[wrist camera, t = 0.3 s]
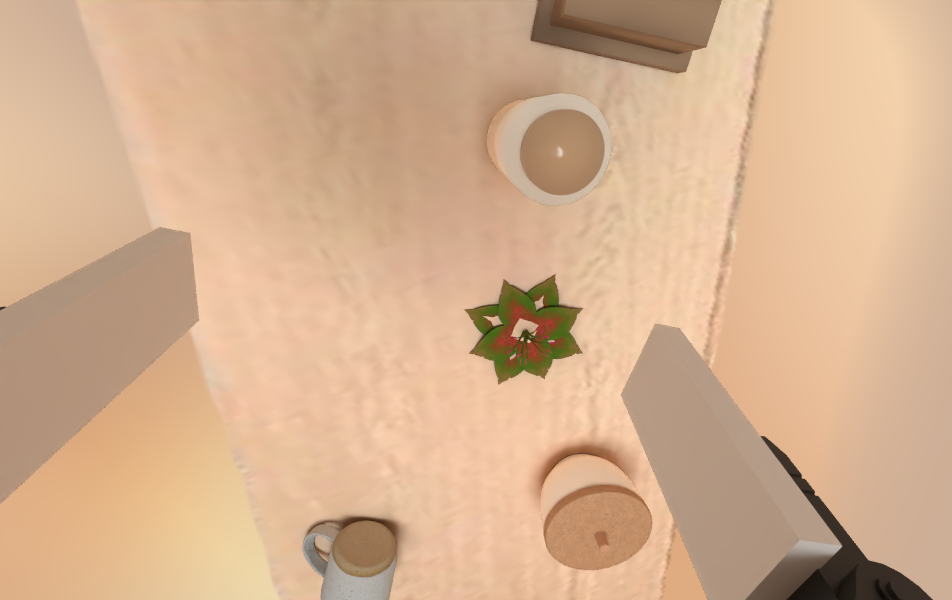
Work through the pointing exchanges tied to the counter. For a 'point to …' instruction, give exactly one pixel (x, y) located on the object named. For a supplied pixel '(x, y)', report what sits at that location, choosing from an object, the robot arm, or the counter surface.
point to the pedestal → (629, 29)
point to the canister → (551, 147)
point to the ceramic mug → (354, 561)
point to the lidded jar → (592, 513)
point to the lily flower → (536, 352)
